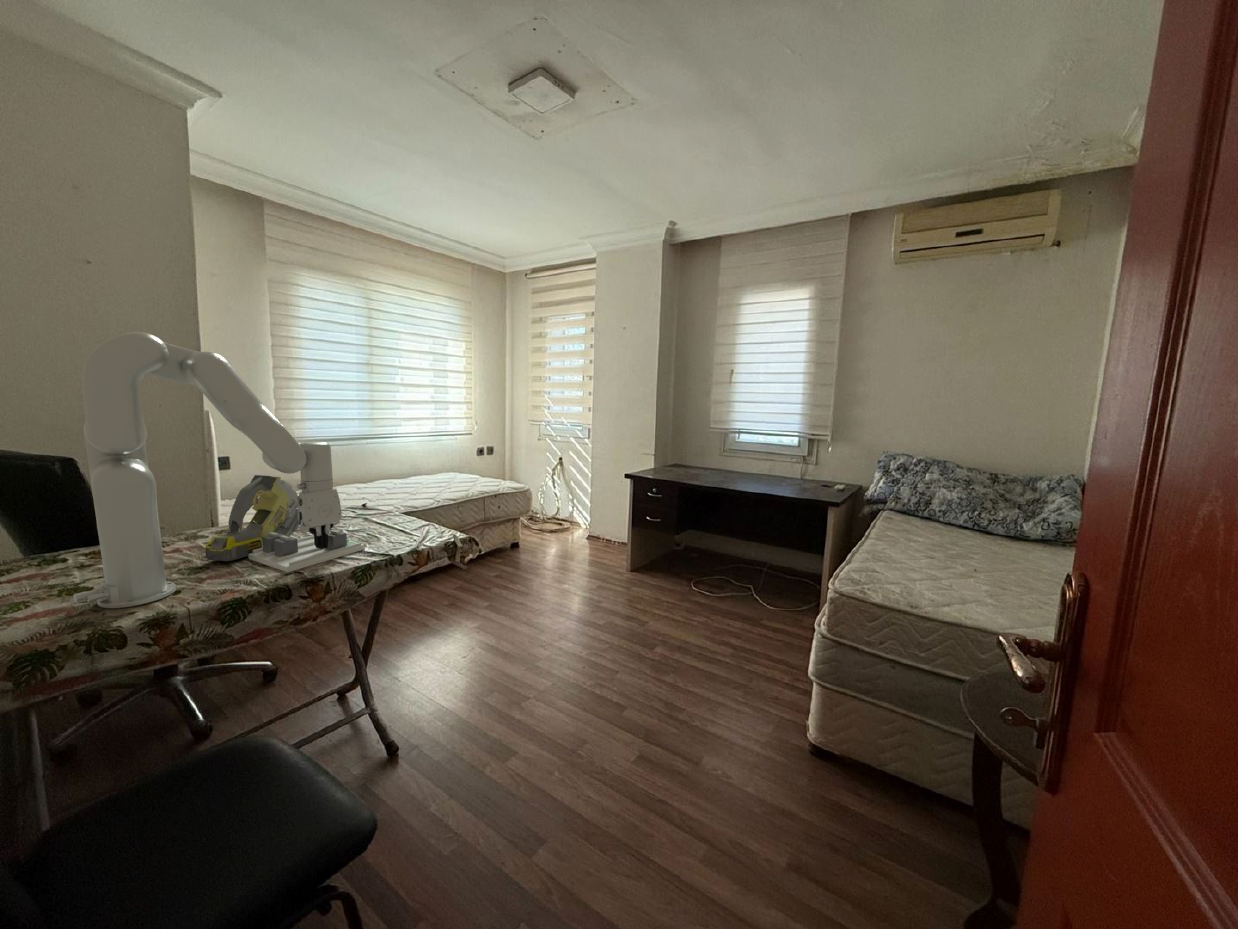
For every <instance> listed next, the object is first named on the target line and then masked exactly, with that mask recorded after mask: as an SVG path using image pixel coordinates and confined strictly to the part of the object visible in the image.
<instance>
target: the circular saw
mask: <svg viewBox="0 0 1238 929" xmlns="http://www.w3.org/2000/svg"><path fill="white" fill-rule="evenodd" d="M299 493H300V492H296V491H295V490H293V485H292V484H291V483H289V482H287V481H286V480H284V479H282V478H281V477H280V476H271V475H263V474H261V475H259V474H254V475H253V477H252V479H251V480H250V482H249V483H248V484H246V485H245V486H244V487H243V488H241V490H239V492H238V495H237V496H236V498H235V500H234V502H233V505H232V508H231V511H230V515H229V519H228V531H227V532H226V533H225V532H224V533H221V534H217V535H216V536H213V537H212V538H211V539H210V541H209V542H208V543H207V544H206V545H205V559H207V561H219V562H221V561H222V562H230V561H231V562H232V561H235V560H239V559H241V558H246V557H249V556H248V554H250V553H253V552H252V550H255V549H259V548H263V544H262V536H267V535H268V533H270V532H274V533H279V534H282V535H285V536H288V537H291V536H292V535H293V534H294V533H296V531H297V530H298V528H299V527H300V525H299V523H298V498H299ZM251 508H252V510H253V511H255V513H254V515H253V516H252V518H251V519H250V521H249V523H248V524H247V526H246V527H245V528H243V522H244V518H245V516H246V514H247V513H248V512H249V511H250V509H251Z"/></svg>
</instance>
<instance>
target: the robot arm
mask: <svg viewBox="0 0 1238 929" xmlns="http://www.w3.org/2000/svg"><path fill="white" fill-rule="evenodd" d="M81 371H82V372H81V386H82V397H83V398H82V400H83V407H84V416H85V418H84V419H85V422H84V424H83V436H84V443H85V449H86V457H87V458H86V459H87V464H88V469H89V478H90V487H91V493H92V499H93V507H94V513H95V518H96V519H95V520H96V529H97V534H98V541H99V549H100V554H101V560H102V561H101V562H102V570H103V577H104V581H101V582H99V586H97V587H94V589H93V590H86V591H82V592H77V593H73V601H74V603H76V604H77V603H81V602H86V601H87V602H88V603H91V602H95V601H96V603H97V605H98V607H100V608H105V609H120V608H129V607H137V606H141V605H145V604H149V603H152V602H155V601H158V600H161V599H164V598H166V597H168V596H170V595H172V594H173V593H174V592H176V590H177V586H176V584H177V583H175V582H172V581H167V579H166V571H165V563H164V561H165V560H164V553H163V545H162V536H161V530H160V529H161V527H160V519H159V510H158V498H157V497H158V495H157V494H158V493H157V492H158V491H157V482H156V479H155V476H154V474H153V472H152V471H151V469H150V468H149V463H148V461H149V460H148V454H147V445H146V440H147V438H148V430H147V426H146V424H145V419H144V414H143V406H142V392H141V391H142V390H141V383H142V379H143V378H144V377H145V375H149V376H150V375H151V376H154V377H158V378H163V379H166V380H170V381H174V382H178V383H179V382H180V383H184V384H188V385H193V386H195V387H197V389H198V390H199V391H200V392H201V393H202V394H203V395H204V396H205V397H206V399H207V400H208V401H209V402H210V403H211V404H212V405H213V407H214V408H215V409H216V410H217V412H218V413H220V414H221V416H222V417H223V418H224V420H226V421H227V422H228V423H229V424H230V425H231V426H232V427H233V428H235V429H236V430H238V431H239V432H240V433H242V434H244V436H246V437H247V438H248V439H249V440H250V441H251V442H253V444H254V445H256V447H257V448H258V449H259V450H260V451H261V452H262V454H261V455H262V457H261V458H262V461H263V462H264V463H265V465H266V466H268V467H270V469H273V470H275V471H278V472H280V473H283V474H288V475H289V474H290V475H291V474H295V473H296V474H297V473H298V472H300V483H298V484H296V488H297V490H301V491H299V492H298V493H299V494H298V496H299V498H298V508H297V509H298V523H299V529H298V530H299V531H300V532H301V533H311V535H314V544H315V546H316V548H319V549H324V548H327V547H328V534H329V533H330V531H331V530H332V529H333V527H335V526H337V525H339V524H340V523H341V522H340V521H342V516H343V514H342V513H343V512H342V506H341V499H340V496H339V492H338V490H337V488H336V487H334V481H333V480H334V479H333V463H332V460H333V459H332V448H331V445H330V444H329V443H328V442H326V441H305V442H298V441H297V440H296V439H295V438H294V437H293V436H292V434H291V433H290V432H289V431H288V430H287V429H286V427H285V426H284V425H283V424H282V423H281V422H280V421H279V420H278V419H277V418H276V417H275V415H274V414H273V413H272V412H271V411H270V410H269V408H267V407H266V406H265V405H264V403H263V402H262V401H261V400H260V399H259V397H258V396H257V395H256V394H255V393H254V391H252V389H251V388H250V387H249V385H248V384H247V383H246V382H245V381H244V379H243V378H242V377H241V375H240V374H239V373H238V372H237V371H236V370H235V368H234V367H233V366H232V364H230V362H229V361H228V360H227V359H226V358H225V357H223V356H222V355H220V354H219V353H215V352H212V351H198V350H194V349H189V348H185V347H183V346H179V345H175V344H171V343H168V342H165V341H163V340H162V339H160V338H159V337H158V336H156V335H153V334H151V333H148V332H143V331H130V332H125V333H122V334H119V335H118V334H117V335H116V336H113V337H111V338H108V339H106V340H104V341H102V342H101V343H100V344H98V345H97V346H95V348H93V349H92V351H91V352H90V353H89V354H88V356H87V357H86V358H85V361H84V364H83V366H82V370H81Z"/></svg>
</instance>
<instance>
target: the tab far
mask: <svg viewBox="0 0 1238 929" xmlns="http://www.w3.org/2000/svg"><path fill="white" fill-rule="evenodd" d="M280 536H283V535H282V534H279V533H274V532H270V533H268V535H267V536H262V548H263V552H266V553H270V552H274V551H275V550H274V540H276V539H280Z"/></svg>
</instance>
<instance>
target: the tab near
mask: <svg viewBox="0 0 1238 929" xmlns="http://www.w3.org/2000/svg"><path fill="white" fill-rule="evenodd" d="M347 539H348V538H347V533H346V532H343V531H339V530H335V529H331V530H330V533H329V534H328V547H327V548H325V549H327V550H334V549H338V548H341V547H345V546H347Z"/></svg>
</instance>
